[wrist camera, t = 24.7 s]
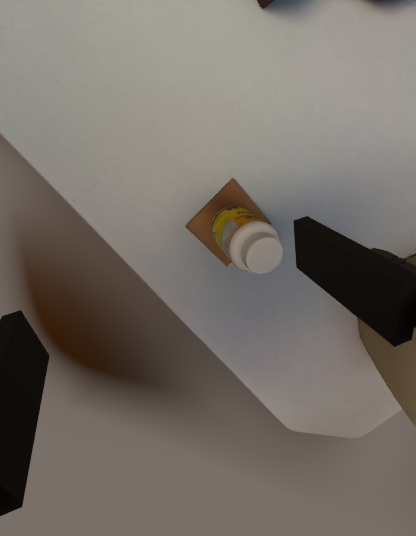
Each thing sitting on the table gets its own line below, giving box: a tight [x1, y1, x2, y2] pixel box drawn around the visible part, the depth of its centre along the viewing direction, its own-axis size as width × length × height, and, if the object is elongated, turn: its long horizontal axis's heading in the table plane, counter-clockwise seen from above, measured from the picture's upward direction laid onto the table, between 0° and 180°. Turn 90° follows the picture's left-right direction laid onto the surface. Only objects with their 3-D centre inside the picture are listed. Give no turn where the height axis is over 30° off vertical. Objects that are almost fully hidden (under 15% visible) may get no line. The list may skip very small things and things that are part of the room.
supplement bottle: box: [211, 205, 283, 274], centre depth 35 cm, size 6×6×10 cm
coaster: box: [186, 179, 271, 266], centre depth 40 cm, size 8×8×1 cm
